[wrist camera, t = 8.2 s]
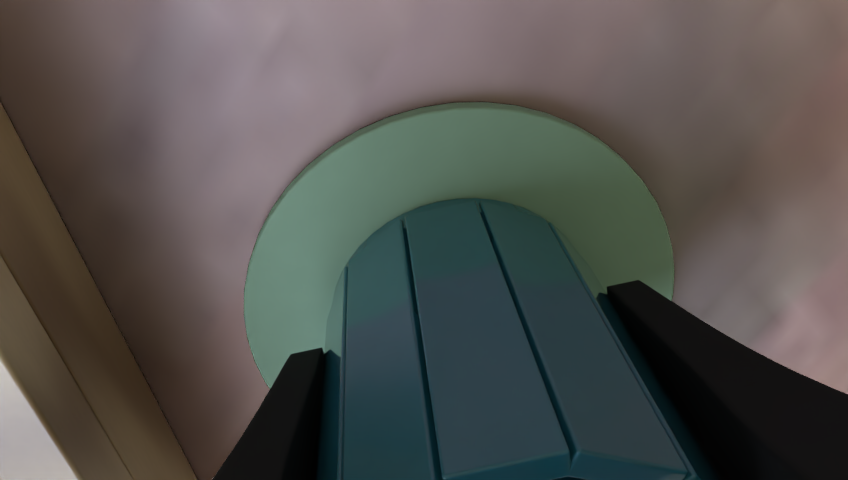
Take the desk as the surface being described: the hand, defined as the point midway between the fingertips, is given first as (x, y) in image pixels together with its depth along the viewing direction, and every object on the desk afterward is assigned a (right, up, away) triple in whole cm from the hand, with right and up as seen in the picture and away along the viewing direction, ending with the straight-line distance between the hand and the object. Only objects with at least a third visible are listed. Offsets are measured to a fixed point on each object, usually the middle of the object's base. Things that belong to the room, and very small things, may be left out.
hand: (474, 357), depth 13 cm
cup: (0, +1, +1) cm, 1 cm away
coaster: (0, +1, +2) cm, 2 cm away
